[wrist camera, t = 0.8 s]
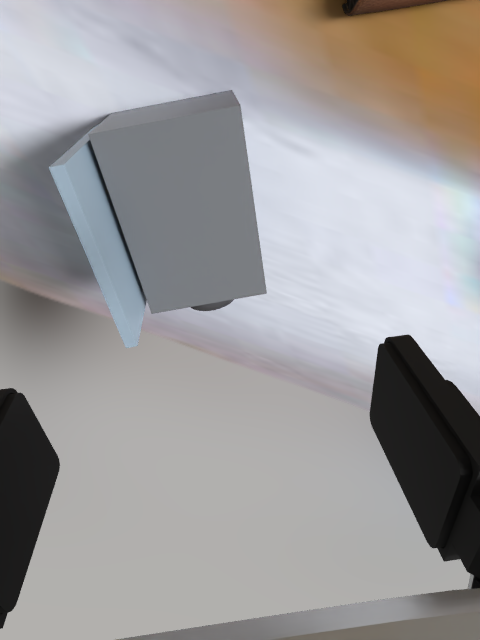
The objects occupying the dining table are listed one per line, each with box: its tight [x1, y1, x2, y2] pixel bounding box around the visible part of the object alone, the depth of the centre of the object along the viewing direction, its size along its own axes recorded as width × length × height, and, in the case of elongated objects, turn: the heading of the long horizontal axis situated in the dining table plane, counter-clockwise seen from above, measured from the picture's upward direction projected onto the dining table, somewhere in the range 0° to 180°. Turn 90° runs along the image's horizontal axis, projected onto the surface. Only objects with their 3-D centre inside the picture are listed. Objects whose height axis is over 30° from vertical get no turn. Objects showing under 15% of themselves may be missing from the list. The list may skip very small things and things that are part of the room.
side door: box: [49, 125, 147, 348], centre depth 28 cm, size 12×1×11 cm, turn 9°
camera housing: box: [88, 90, 267, 314], centre depth 30 cm, size 15×9×7 cm, turn 9°
